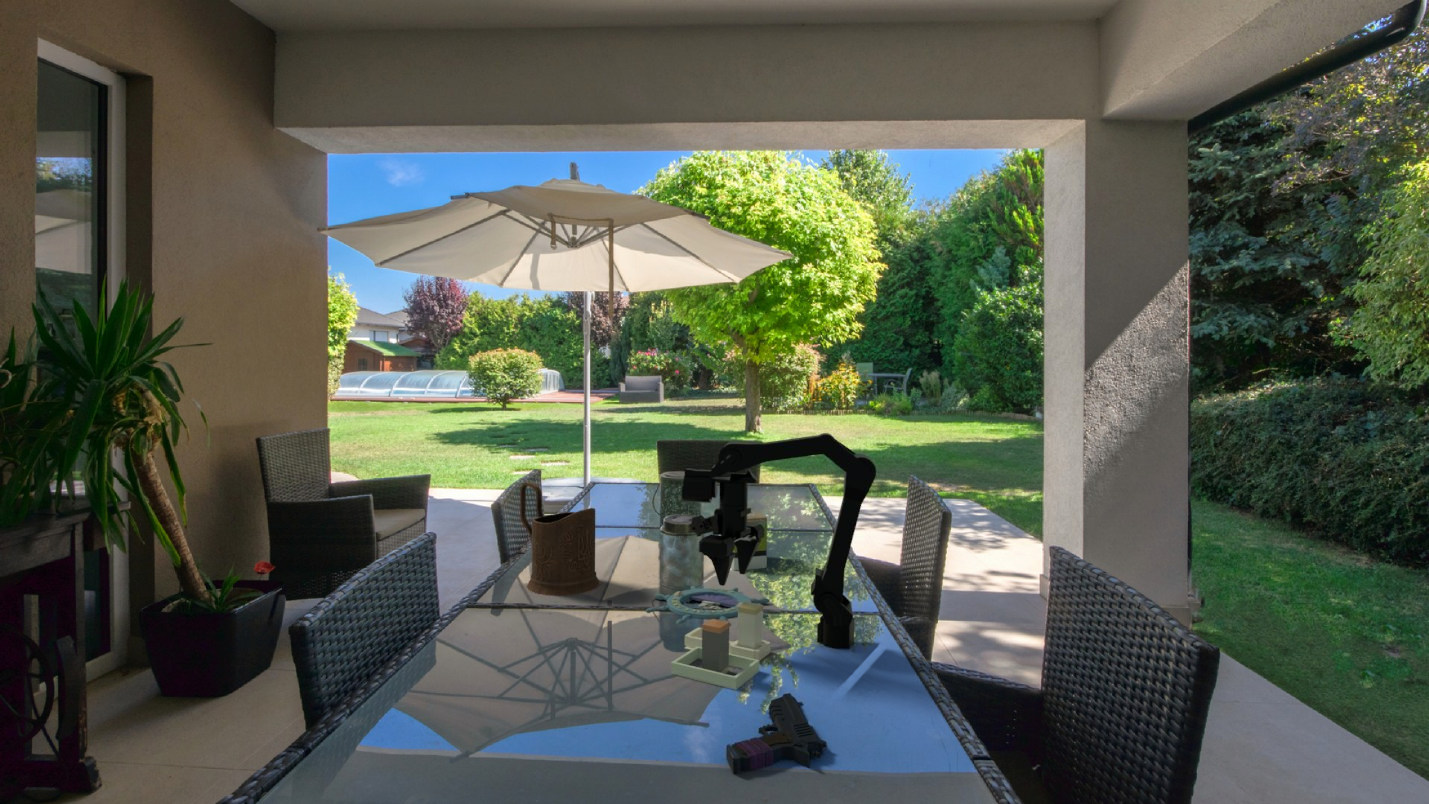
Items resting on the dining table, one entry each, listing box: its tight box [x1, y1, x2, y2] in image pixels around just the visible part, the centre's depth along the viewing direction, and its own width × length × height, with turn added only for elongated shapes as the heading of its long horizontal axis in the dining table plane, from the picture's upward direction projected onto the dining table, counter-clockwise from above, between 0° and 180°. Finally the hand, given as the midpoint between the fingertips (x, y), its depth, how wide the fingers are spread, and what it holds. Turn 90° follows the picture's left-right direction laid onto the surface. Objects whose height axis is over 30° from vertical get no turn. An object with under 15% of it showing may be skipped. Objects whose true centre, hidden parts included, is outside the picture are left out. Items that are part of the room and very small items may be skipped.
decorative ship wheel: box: [645, 585, 770, 627], centre depth 176 cm, size 30×3×30 cm
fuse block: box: [684, 627, 772, 662], centre depth 149 cm, size 16×8×3 cm, turn 61°
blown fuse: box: [701, 619, 730, 674], centre depth 137 cm, size 4×4×9 cm
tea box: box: [718, 506, 768, 571], centre depth 217 cm, size 15×10×15 cm
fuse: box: [737, 602, 764, 650], centre depth 146 cm, size 4×4×9 cm
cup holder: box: [519, 482, 601, 597], centre depth 194 cm, size 18×24×25 cm
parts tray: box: [670, 646, 760, 691], centre depth 138 cm, size 13×9×3 cm
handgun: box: [725, 692, 828, 775], centre depth 116 cm, size 3×20×15 cm
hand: (732, 579), depth 155 cm, fingers open, 9 cm apart
